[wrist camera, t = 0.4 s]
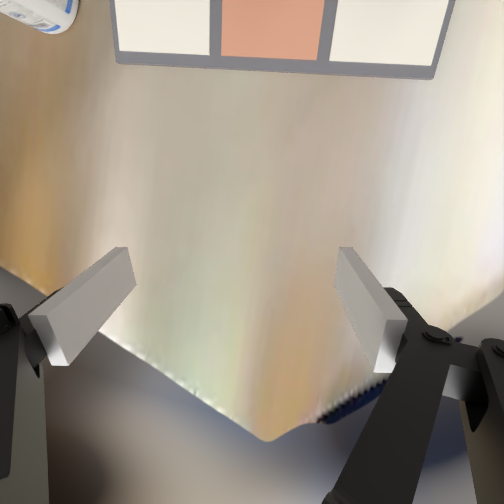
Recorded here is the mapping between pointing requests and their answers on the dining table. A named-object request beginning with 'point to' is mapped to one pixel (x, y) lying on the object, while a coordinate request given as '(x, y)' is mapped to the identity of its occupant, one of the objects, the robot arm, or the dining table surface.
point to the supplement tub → (42, 13)
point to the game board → (285, 35)
